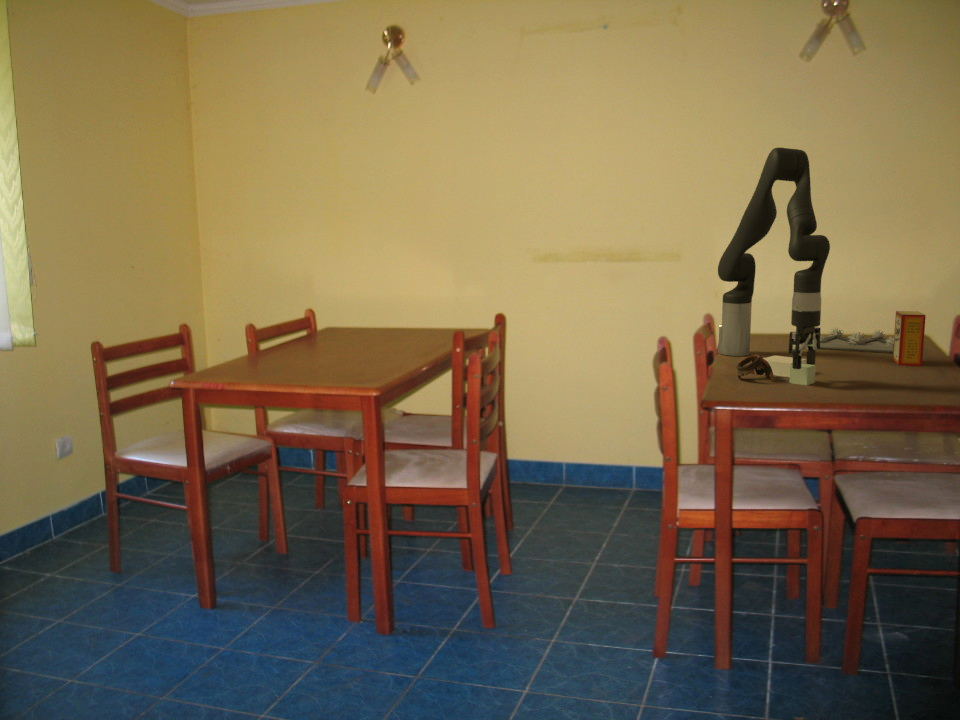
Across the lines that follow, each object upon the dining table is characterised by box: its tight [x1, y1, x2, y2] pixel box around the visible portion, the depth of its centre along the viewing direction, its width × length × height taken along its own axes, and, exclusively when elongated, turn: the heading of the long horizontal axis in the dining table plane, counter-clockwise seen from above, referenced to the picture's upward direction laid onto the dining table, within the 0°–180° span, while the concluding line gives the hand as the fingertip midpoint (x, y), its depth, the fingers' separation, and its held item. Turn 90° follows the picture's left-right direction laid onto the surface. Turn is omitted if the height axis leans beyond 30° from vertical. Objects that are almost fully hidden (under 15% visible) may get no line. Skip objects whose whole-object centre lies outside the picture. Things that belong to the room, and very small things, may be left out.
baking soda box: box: [892, 310, 927, 367], centre depth 275 cm, size 10×6×16 cm
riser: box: [762, 355, 807, 378], centre depth 263 cm, size 10×10×4 cm
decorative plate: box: [816, 327, 894, 354], centre depth 308 cm, size 30×22×7 cm
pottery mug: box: [735, 354, 775, 383], centre depth 254 cm, size 12×10×8 cm
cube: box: [789, 363, 817, 386], centre depth 249 cm, size 5×5×5 cm
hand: (803, 366), depth 248 cm, fingers open, 8 cm apart
